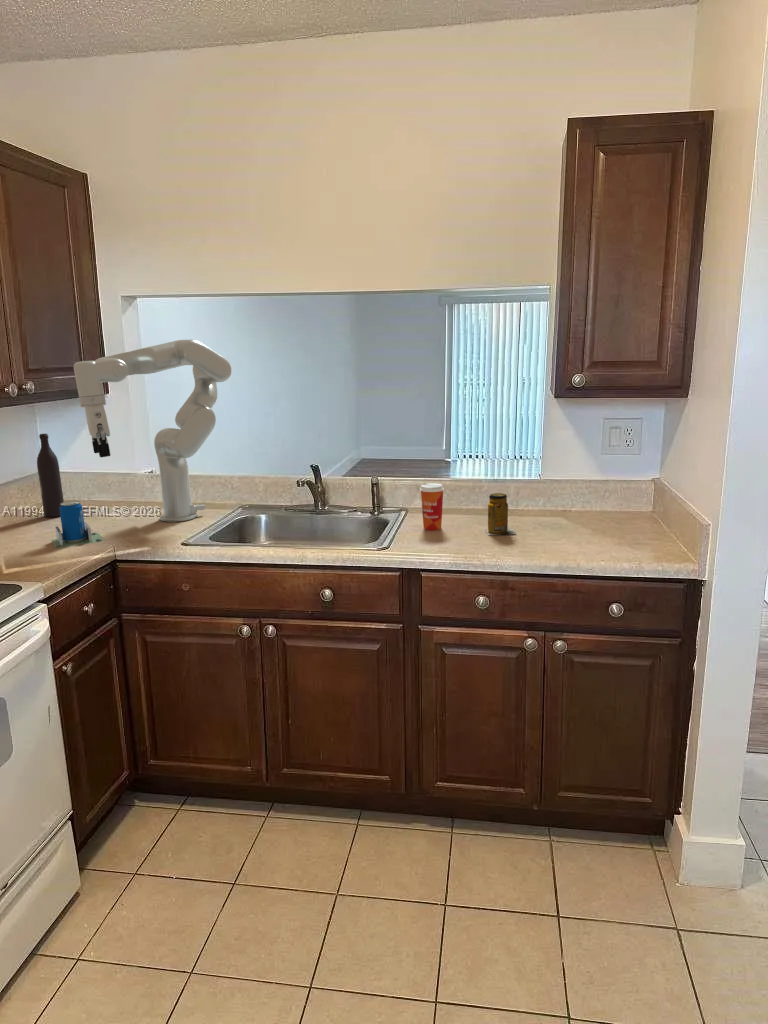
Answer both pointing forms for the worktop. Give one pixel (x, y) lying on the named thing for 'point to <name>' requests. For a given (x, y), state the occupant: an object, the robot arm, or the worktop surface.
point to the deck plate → (95, 538)
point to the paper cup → (432, 505)
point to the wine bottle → (49, 479)
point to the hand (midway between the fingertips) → (102, 454)
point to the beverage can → (72, 521)
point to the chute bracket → (60, 535)
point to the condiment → (498, 515)
